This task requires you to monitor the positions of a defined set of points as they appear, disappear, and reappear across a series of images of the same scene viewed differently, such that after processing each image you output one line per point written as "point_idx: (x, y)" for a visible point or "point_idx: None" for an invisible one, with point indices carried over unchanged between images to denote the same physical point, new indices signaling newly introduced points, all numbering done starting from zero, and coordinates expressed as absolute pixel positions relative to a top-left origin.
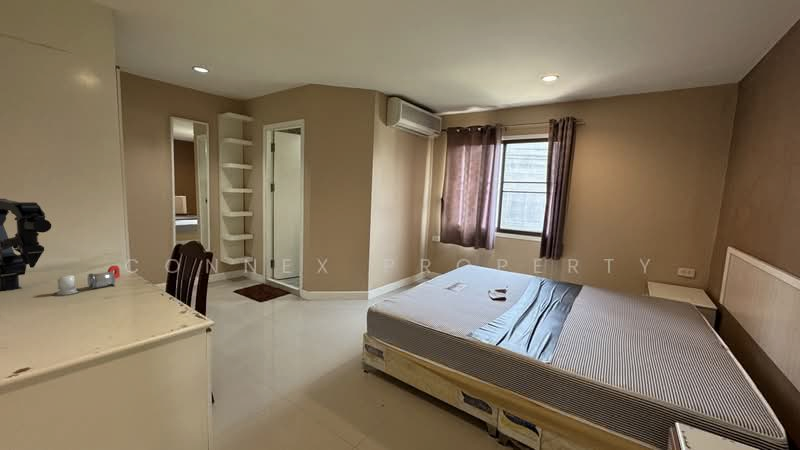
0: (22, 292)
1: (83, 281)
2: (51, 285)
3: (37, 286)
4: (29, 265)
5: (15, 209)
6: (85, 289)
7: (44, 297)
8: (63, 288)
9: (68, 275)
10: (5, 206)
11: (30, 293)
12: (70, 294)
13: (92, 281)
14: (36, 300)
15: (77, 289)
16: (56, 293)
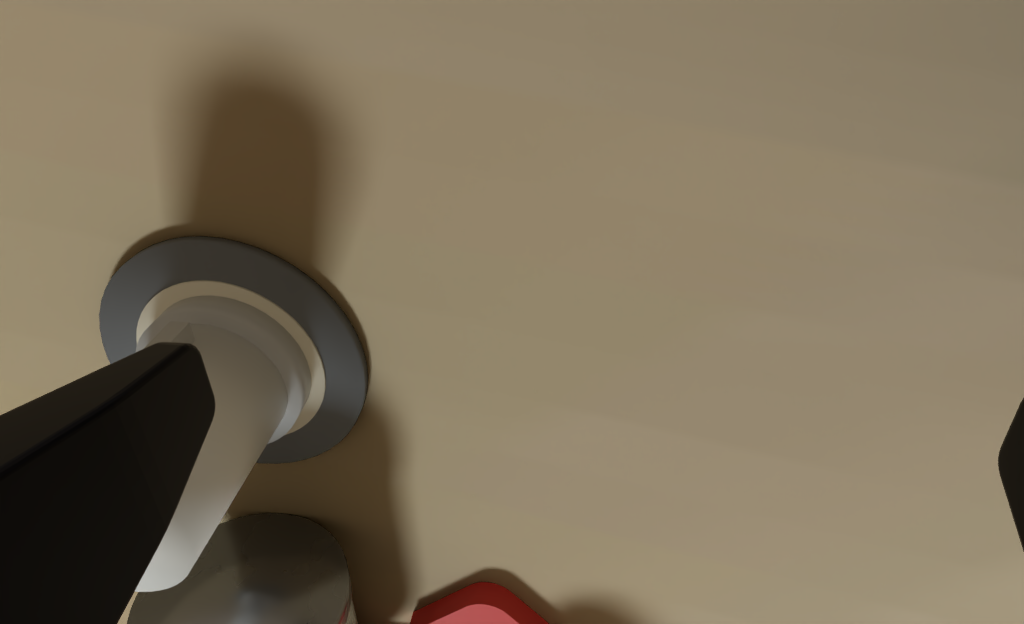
0: (726, 3)
1: (763, 594)
2: (874, 365)
3: (1002, 242)
4: (103, 377)
5: None
6: (308, 489)
7: (146, 145)
8: None
9: (192, 565)
10: None
11: (542, 74)
12: (108, 350)
13: (154, 600)
14: (18, 43)
15: (306, 449)
16: (232, 277)
